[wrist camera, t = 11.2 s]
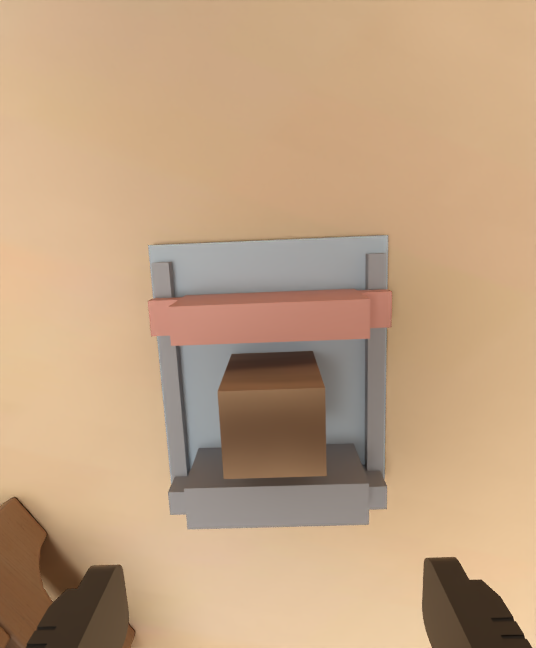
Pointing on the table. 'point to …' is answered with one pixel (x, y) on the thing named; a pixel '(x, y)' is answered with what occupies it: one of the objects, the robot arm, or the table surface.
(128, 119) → the table surface
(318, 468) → the walnut block
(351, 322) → the bar
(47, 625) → the robot arm
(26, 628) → the wooden toy
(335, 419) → the vise base
